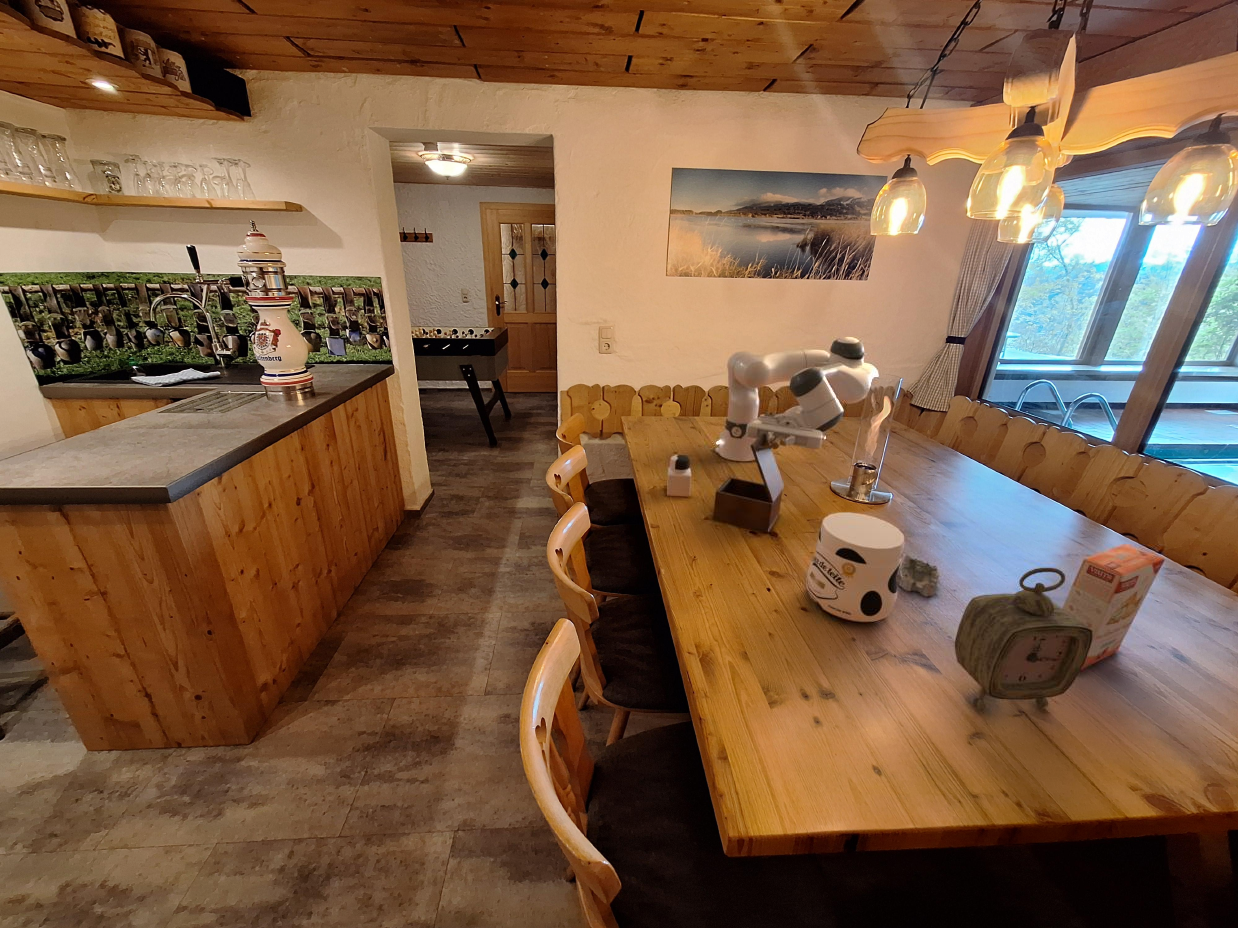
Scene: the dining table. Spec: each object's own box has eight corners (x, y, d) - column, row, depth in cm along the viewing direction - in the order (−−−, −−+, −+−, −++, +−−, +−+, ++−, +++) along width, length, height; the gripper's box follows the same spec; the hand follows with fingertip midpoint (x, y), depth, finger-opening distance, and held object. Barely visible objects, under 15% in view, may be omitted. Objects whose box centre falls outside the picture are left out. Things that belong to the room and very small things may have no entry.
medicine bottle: (688, 487, 160) (691, 453, 156) (689, 497, 153) (692, 461, 149) (667, 486, 161) (669, 452, 156) (666, 495, 154) (669, 460, 150)
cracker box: (1079, 675, 86) (1125, 575, 79) (1040, 652, 92) (1080, 556, 84) (1120, 653, 92) (1168, 557, 84) (1082, 633, 97) (1123, 541, 89)
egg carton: (933, 600, 106) (938, 584, 105) (894, 587, 110) (898, 572, 109) (937, 577, 114) (942, 562, 113) (901, 566, 118) (905, 551, 117)
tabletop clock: (974, 717, 78) (1023, 585, 69) (937, 673, 86) (976, 551, 77) (1060, 714, 79) (1120, 583, 70) (1015, 671, 87) (1063, 550, 78)
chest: (712, 519, 140) (715, 491, 136) (727, 503, 150) (729, 476, 147) (767, 533, 132) (771, 504, 129) (778, 515, 143) (782, 488, 139)
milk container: (789, 603, 104) (802, 529, 98) (821, 571, 116) (835, 502, 109) (876, 643, 93) (897, 562, 87) (901, 602, 105) (921, 529, 99)
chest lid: (750, 445, 127) (772, 439, 124) (762, 433, 137) (783, 427, 134) (770, 503, 129) (793, 498, 126) (781, 486, 139) (802, 482, 136)
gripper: (825, 446, 137) (816, 460, 126) (753, 433, 147) (739, 446, 135) (829, 424, 135) (820, 437, 124) (755, 413, 144) (741, 424, 133)
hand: (777, 441), depth 130 cm, fingers closed on chest lid, 2 cm apart
